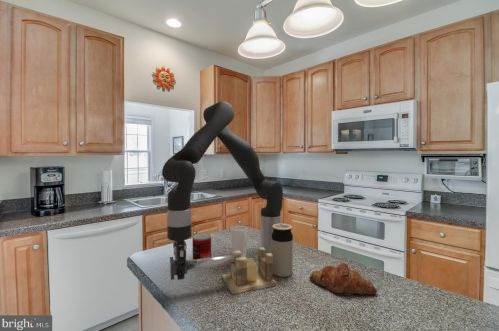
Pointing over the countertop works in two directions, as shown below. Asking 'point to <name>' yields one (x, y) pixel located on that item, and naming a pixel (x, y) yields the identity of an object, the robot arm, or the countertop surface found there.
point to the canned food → (201, 246)
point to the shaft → (202, 263)
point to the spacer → (251, 270)
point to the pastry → (342, 280)
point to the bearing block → (238, 273)
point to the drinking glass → (239, 239)
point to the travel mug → (282, 250)
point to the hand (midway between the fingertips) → (180, 274)
